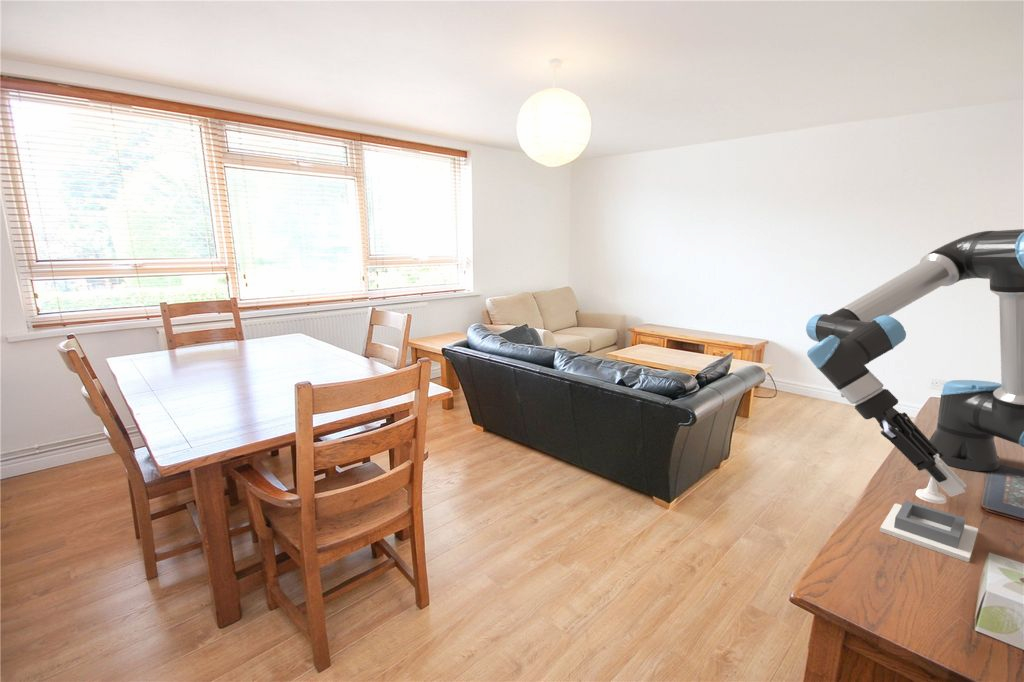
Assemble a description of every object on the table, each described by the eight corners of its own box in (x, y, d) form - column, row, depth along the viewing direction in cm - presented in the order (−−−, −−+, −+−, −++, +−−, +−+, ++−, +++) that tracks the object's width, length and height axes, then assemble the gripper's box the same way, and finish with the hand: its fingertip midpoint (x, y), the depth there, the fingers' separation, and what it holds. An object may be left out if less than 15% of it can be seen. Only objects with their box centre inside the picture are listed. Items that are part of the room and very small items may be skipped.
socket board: (894, 507, 109) (896, 493, 108) (977, 532, 98) (980, 518, 98) (879, 531, 100) (881, 516, 99) (969, 562, 90) (971, 546, 89)
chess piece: (938, 493, 99) (945, 450, 97) (951, 505, 95) (959, 460, 93) (911, 490, 101) (917, 448, 99) (922, 501, 96) (929, 457, 94)
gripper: (862, 397, 111) (945, 485, 101) (843, 413, 101) (933, 512, 92) (893, 380, 106) (983, 471, 96) (876, 395, 96) (974, 498, 87)
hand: (958, 491), depth 94 cm, fingers closed on chess piece, 2 cm apart
